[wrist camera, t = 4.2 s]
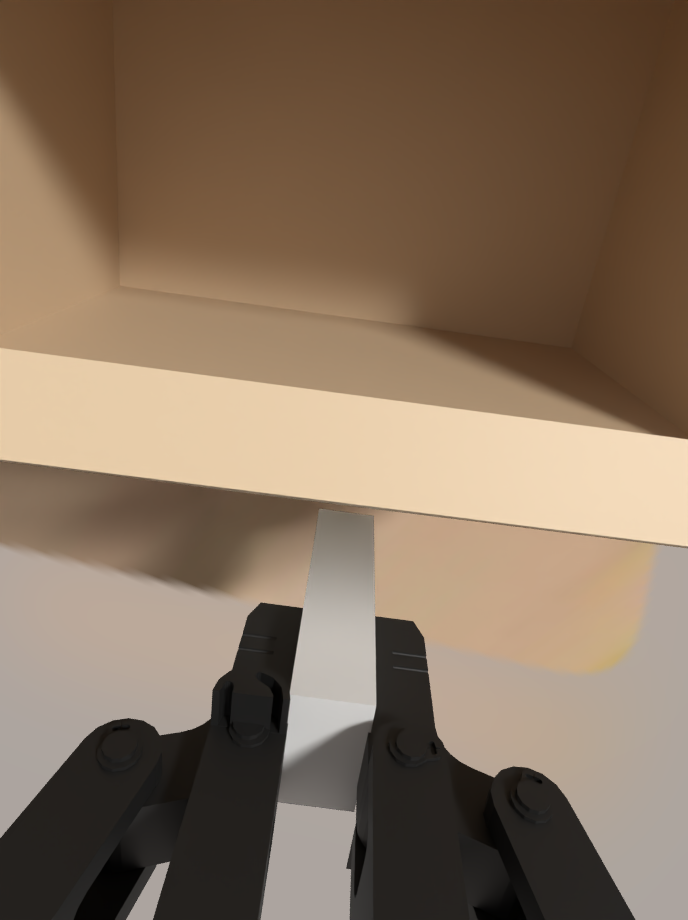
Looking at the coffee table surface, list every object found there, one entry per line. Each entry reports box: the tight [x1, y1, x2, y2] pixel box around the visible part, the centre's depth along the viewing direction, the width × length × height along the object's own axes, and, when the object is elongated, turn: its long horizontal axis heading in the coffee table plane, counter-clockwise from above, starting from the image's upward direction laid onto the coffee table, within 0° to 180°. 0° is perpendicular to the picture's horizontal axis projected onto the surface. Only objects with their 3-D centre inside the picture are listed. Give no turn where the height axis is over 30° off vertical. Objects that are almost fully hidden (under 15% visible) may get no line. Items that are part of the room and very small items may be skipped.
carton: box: [0, 0, 688, 439], centre depth 12 cm, size 16×16×10 cm
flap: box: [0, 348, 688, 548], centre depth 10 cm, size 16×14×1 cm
